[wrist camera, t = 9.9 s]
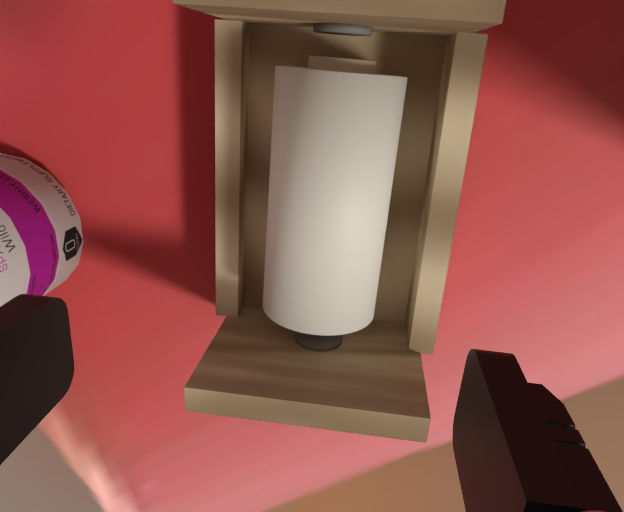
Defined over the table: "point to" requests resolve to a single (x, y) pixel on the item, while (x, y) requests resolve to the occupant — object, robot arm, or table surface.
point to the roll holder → (400, 224)
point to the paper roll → (329, 192)
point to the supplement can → (35, 230)
